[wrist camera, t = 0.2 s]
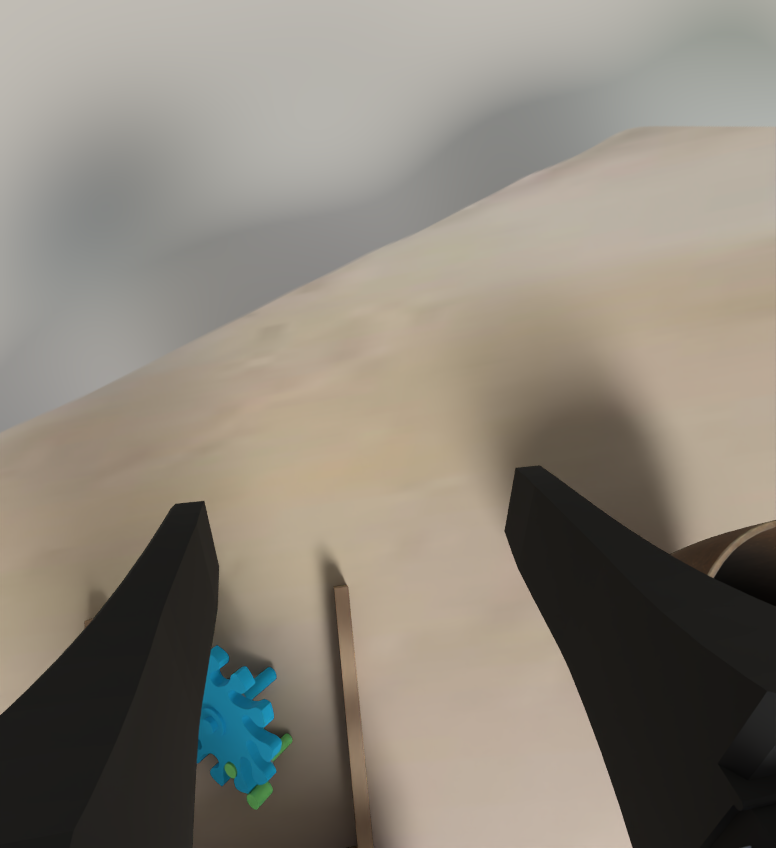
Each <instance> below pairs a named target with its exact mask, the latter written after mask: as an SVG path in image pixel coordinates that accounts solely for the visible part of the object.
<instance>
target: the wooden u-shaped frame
mask: <svg viewBox="0 0 776 848" xmlns="http://www.w3.org/2000/svg"><path fill="white" fill-rule="evenodd" d="M334 595H335V606H336V617H337V628H338V639H339V650H340V661H341V672H342V683H343V694H344V705H345V716H346V727H347V738H348V749H349V760H350V771H351V782H352V793H353V804H354V815H355V825H356V836H357V846H353V847H348V848H373V838H372V828H371V817H370V807H369V797H368V786H367V776H366V766H365V755H364V745H363V735H362V724H361V714H360V704H359V693H358V683H357V673H356V662H355V652H354V642H353V631H352V621H351V611H350V600H349V590H348V586H347V585H342V586H334ZM92 620H93V619H89V620H86V621H85V628H86V627H87V626H88V624H89V623H90V622H91V621H92Z"/></svg>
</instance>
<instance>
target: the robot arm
mask: <svg viewBox="0 0 776 848" xmlns="http://www.w3.org/2000/svg"><path fill="white" fill-rule="evenodd" d="M505 534H506V536H507V539H508V542H509V545H510V548H511V551H512V554H513V556H514V559H515V562H516V564H517V567H518V569H519V571H520V573H521V575H522V577H523V579H524V581H525V583H526V585H527V587H528V589H529V591H530V593H531V595H532V597H533V599H534V601H535V603H536V605H537V606H538V608H539V610H540V612H541V614H542V616H543V618H544V620H545V622H546V624H547V626H548V627H549V629H550V631H551V633H552V635H553V637H554V639H555V641H556V643H557V645H558V647H559V649H560V651H561V653H562V655H563V657H564V659H565V661H566V663H567V665H568V668H569V670H570V672H571V675H572V677H573V680H574V682H575V685H576V687H577V690H578V692H579V695H580V697H581V700H582V702H583V705H584V707H585V710H586V713H587V715H588V718H589V721H590V723H591V726H592V729H593V732H594V734H595V737H596V740H597V742H598V745H599V748H600V750H601V753H602V756H603V759H604V762H605V765H606V768H607V771H608V773H609V776H610V779H611V782H612V785H613V788H614V791H615V794H616V797H617V800H618V803H619V806H620V809H621V812H622V815H623V819H624V822H625V825H626V828H627V831H628V834H629V838H630V841H631V844H632V847H633V848H776V606H773V605H771V604H769V603H766V602H764V601H762V600H759V599H757V598H755V597H752V596H750V595H748V594H746V593H744V592H742V591H740V590H737V589H735V588H733V587H731V586H729V585H727V584H725V583H723V582H720V581H718V580H716V579H714V578H712V577H710V576H708V575H706V574H704V573H702V572H700V571H699V570H697V569H695V568H693V567H691V566H689V565H688V564H686V563H684V562H682V561H680V560H679V559H677V558H675V557H673V556H671V555H669V554H668V553H666V552H664V551H663V550H661V549H659V548H658V547H656V546H654V545H653V544H651V543H650V542H648V541H646V540H645V539H643V538H642V537H640V536H639V535H637V534H635V533H634V532H632V531H631V530H629V529H628V528H626V527H625V526H623V525H622V524H620V523H619V522H617V521H616V520H614V519H613V518H612V517H610V516H609V515H607V514H606V513H604V512H603V511H602V510H600V509H599V508H597V507H596V506H595V505H593V504H592V503H591V502H589V501H588V500H586V499H585V498H584V497H582V496H581V495H580V494H578V493H577V492H576V491H574V490H573V489H572V488H570V487H569V486H568V485H566V484H565V483H563V482H562V481H561V480H559V479H558V478H557V477H555V476H554V475H553V474H551V473H550V472H548V471H547V470H546V469H544V468H543V467H541V466H531V467H521V468H516V469H515V475H514V481H513V486H512V492H511V498H510V503H509V509H508V515H507V520H506V526H505ZM218 582H219V564H218V560H217V555H216V551H215V547H214V542H213V538H212V533H211V529H210V524H209V520H208V516H207V511H206V507H205V502H204V501H199V502H189V503H180V504H175V505H174V506H173V507H172V508H171V509H170V511H169V512H168V514H167V516H166V517H165V519H164V521H163V522H162V524H161V525H160V527H159V529H158V530H157V532H156V533H155V535H154V536H153V538H152V539H151V541H150V543H149V544H148V546H147V547H146V549H145V550H144V552H143V553H142V555H141V556H140V557H139V559H138V560H137V562H136V563H135V564H134V566H133V567H132V569H131V570H130V572H129V573H128V574H127V576H126V577H125V579H124V580H123V581H122V583H121V584H120V585H119V587H118V588H117V589H116V591H115V592H114V593H113V594H112V596H111V597H110V598H109V599H108V601H107V602H106V603H105V605H104V606H103V607H102V608H101V610H100V611H99V612H98V613H97V615H96V616H95V617H94V618H93V620H92V621H91V622H90V623H89V624H88V626H87V627H86V628H85V629H84V630H83V631H82V633H81V634H80V635H79V636H78V637H77V638H76V639H75V641H74V642H73V643H72V644H71V645H70V646H69V647H68V648H67V649H66V650H65V651H64V653H63V654H62V655H61V656H60V657H59V658H58V659H57V660H56V661H55V662H54V663H53V664H52V665H51V666H50V667H49V668H48V669H47V670H46V671H45V672H44V673H43V674H42V675H41V676H40V677H39V678H38V679H37V680H36V681H35V682H34V683H33V684H32V685H31V686H30V687H29V689H28V690H27V691H25V692H24V693H23V694H22V695H21V696H20V697H19V698H18V699H17V700H16V701H15V702H14V703H13V704H12V705H11V706H10V707H9V708H8V709H7V710H5V711H4V712H3V713H2V714H1V715H0V848H192V845H193V822H194V803H195V784H196V767H197V752H198V736H199V725H200V717H201V709H202V702H203V696H204V690H205V684H206V678H207V671H208V665H209V659H210V653H211V647H212V641H213V634H214V628H215V622H216V615H217V606H218Z"/></svg>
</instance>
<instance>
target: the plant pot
mask: <svg viewBox="0 0 776 848" xmlns="http://www.w3.org/2000/svg"><path fill="white" fill-rule="evenodd" d="M669 555H671V556H673V557H675V558H677V559H679V560H680V561H682V562H684V563H686V564H688V565H689V566H691V567H693V568H695V569H697V570H699V571H700V572H702V573H704V574H706V575H708V576H710V577H712V578H714V579H716V580H718V581H720V582H723V583H725V584H727V585H729V586H731V587H733V588H735V589H737V590H740V591H742V592H744V593H746V594H748V595H750V596H752V597H755V598H757V599H759V600H762V601H764V602H766V603H769V604H771V605H773V606H776V520H774V521H770V522H766V523H761V524H757V525H753V526H749V527H746V528H742V529H738V530H735V531H731V532H727V533H724V534H721V535H718V536H715V537H711V538H708V539H705V540H703V541H700V542H697V543H695V544H692V545H690V546H688V547H685V548H683V549H681V550H678V551H676V552H674V553H672V554H669Z"/></svg>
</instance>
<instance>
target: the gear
mask: <svg viewBox="0 0 776 848" xmlns="http://www.w3.org/2000/svg"><path fill="white" fill-rule="evenodd" d="M228 662H229V655H228V654H227V653H226V652H225V651H224V650H223V649H222V648H221V647H219V646H218V645H216V646H215V647H214V648H212V649H211V653H210V659H209V665H208V671H207V678H206V684H205V690H204V696H203V702H202V709H201V717H200V725H199V736H198V752H197V763H199V762H201V761H202V760H203V759H204V758H205V757H206V756H207V755H208V754H213V755H215V756H216V758H217V759H218V763H217V764H216V765H215V766H214V767H213V768H212V769H211V771H210V774H211V776H212V777H213V779H214V780H215V781H216V782H217V783H218V784H220V785H221V786H223V785H224V784H225V783H226V782H227V781H228V780H229V779H230V778H235V779H234V784H235V787H236V789H237V790H239V791H241V792H243V793H247V794H248V795H247V802H248V804H249V805H250V806H251V807H252V808H253V809H255V810H256V809H258V808H259V807H260V806H261V805H262V804H263V802H264V801H265V800H266V799H267V798H268V797H269V796H270V795H271V794H272V792H273V789H272V786H271V784H270V783H269V782H268V781H269V780H270V778H271V777H272V776H273V775H274V774H275V773H276V768H275V766H274V763H273V761H274V760H275V759H276V758H277V757H278V756H279V755H280V754H281V753H282V752H283V751H284V750H285V749H286V748H287V747H288V746H289V745H290V744H291V743H292V737H291V736H290V735H289V734H287V733H286V734H285V735H284V736H283V737H282V738H281V739H280V738H279V737H278V736H277V735H275V734H272V733H270V732H268V731H266V730H265V729H264V727H265V726H266V725H267V724H268V723H270V722H271V721H272V720H273V719H274V713H273V708H272V705H271V702H270V701H268V700H266V699H263V700H261V701H253V700H252V699H253V698H255V697H256V696H257V695H258V694H259V693H260V692H262V691H263V690H264V689H265V688H266V687H267V686H269V685H270V684H271V683H272V682H273V681H274V680H275V679H276V677H277V676H276V672H275V671H274V670H273V669H272V668H270V667H268V668H266V669H265V670H264V671H263V672H262V673H260V674H259V675H258V676H257V677H255V678H253V676H252V674H251V672H250V671H249V669H248V668H247V667H246V666H243V667H241V668H240V669H239V670H237V671H236V672H235V673H233V674H232V675H231V677H230V679H225V678H224V677H223V676H222V674H221V672H220V668H221V667H223V666H224V665H225V664H227V663H228ZM255 786H256V787H255ZM254 787H255V788H254ZM253 788H254V789H253ZM252 789H253V790H252Z"/></svg>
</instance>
